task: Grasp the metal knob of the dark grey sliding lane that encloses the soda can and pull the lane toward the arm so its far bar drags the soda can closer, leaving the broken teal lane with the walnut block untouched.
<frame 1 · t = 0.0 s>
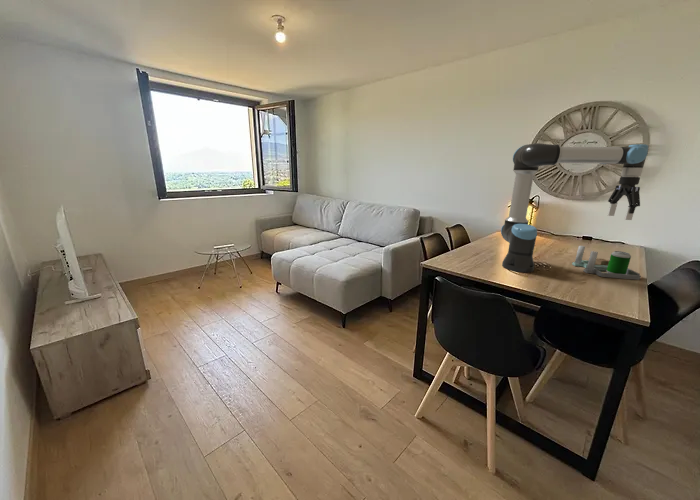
hand: (619, 217, 153), 28 cm above the table, fingers open, 13 cm apart
walnut block: (600, 267, 161), resting in lane b
soda can: (615, 275, 150), resting in lane a
lane a: (610, 263, 149), point 6 cm above the table, slide at 0.0 cm
lane b: (596, 257, 160), point 6 cm above the table, slide at 0.0 cm
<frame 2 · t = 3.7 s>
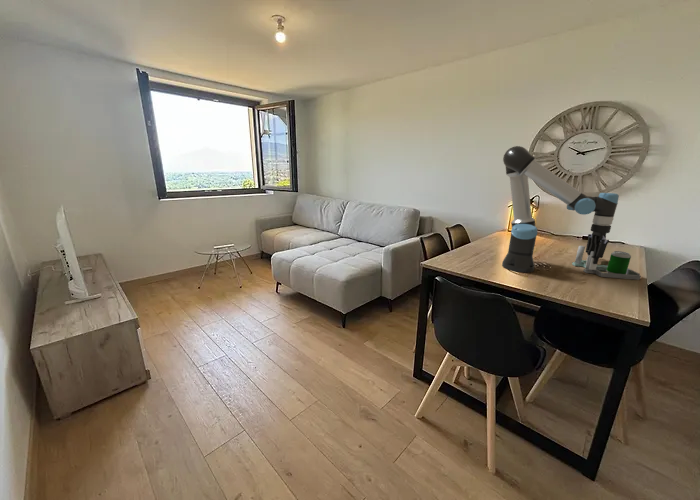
hand: (590, 268, 151), 3 cm above the table, fingers closed on lane a, 3 cm apart
lane a: (610, 263, 149), point 6 cm above the table, slide at 0.0 cm, touching gripper
everything else where it was.
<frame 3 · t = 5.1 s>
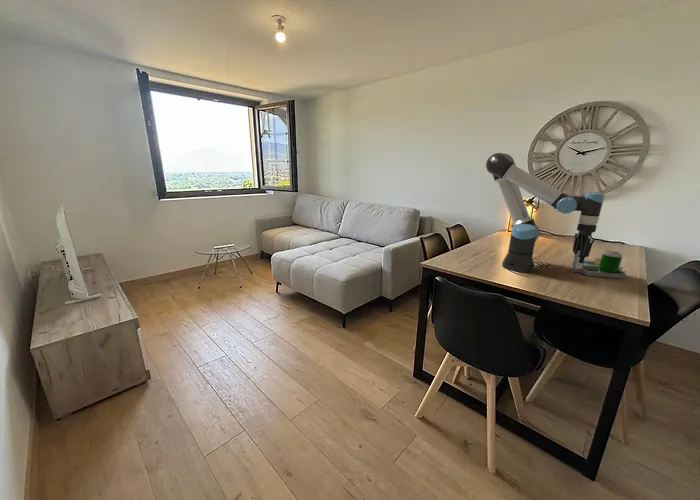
hand: (576, 267, 153), 2 cm above the table, fingers closed on lane a, 3 cm apart
soda can: (606, 274, 151), resting in lane a
lane a: (596, 262, 150), point 6 cm above the table, slide at 6.2 cm, touching gripper, soda can
everything else where it was.
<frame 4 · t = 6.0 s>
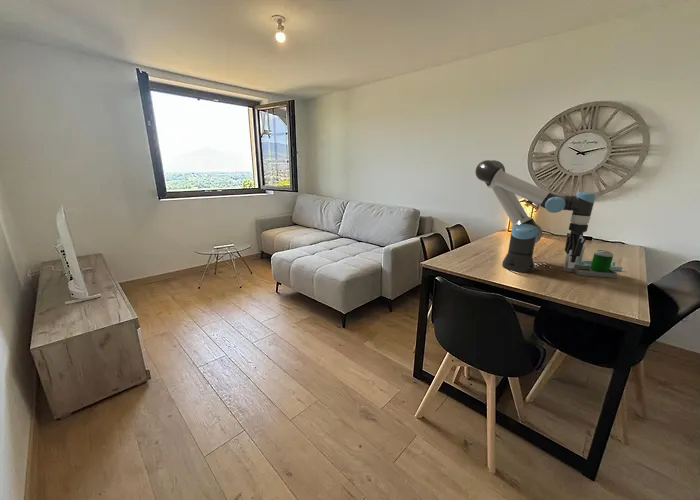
hand: (568, 266, 153), 2 cm above the table, fingers closed on lane a, 3 cm apart
soda can: (598, 273, 151), resting in lane a
lane a: (588, 262, 151), point 6 cm above the table, slide at 9.9 cm, touching gripper
everything else where it was.
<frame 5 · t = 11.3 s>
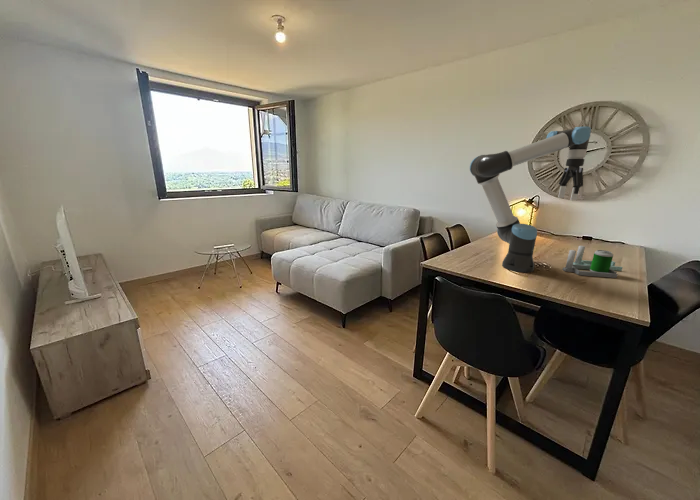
hand: (566, 198, 158), 37 cm above the table, fingers open, 13 cm apart
lane a: (588, 262, 151), point 6 cm above the table, slide at 9.9 cm
everything else where it was.
at the end: soda can inside the target area (2.0 cm from its centre), resting in lane a; lane a slide at 9.9 cm; soda can tilted 0° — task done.
